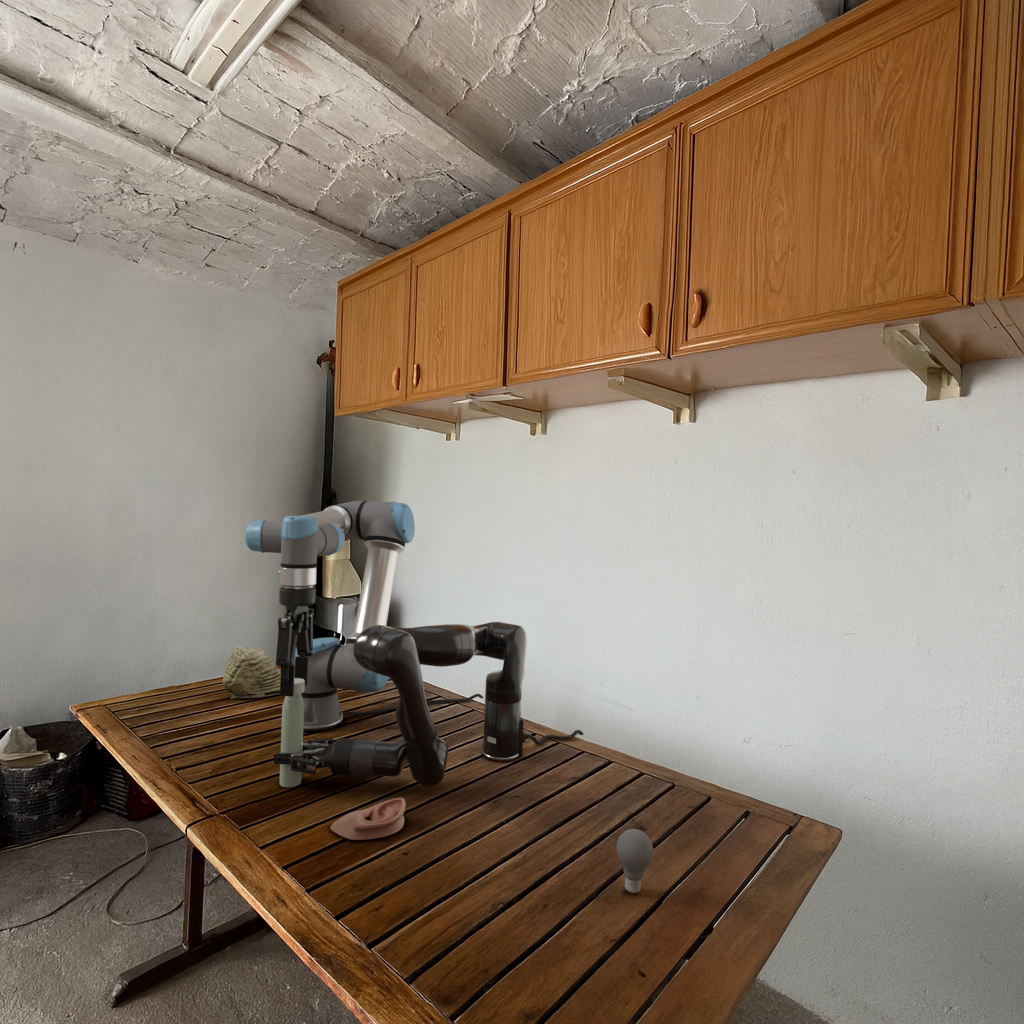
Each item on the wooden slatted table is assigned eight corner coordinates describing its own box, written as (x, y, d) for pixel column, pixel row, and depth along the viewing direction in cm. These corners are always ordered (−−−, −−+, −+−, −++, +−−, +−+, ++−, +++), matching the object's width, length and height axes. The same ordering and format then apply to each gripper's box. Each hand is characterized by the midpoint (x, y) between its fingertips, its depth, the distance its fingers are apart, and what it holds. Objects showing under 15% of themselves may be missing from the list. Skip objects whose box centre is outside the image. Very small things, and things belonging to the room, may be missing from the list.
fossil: (218, 695, 195) (220, 647, 195) (278, 685, 208) (279, 640, 207) (228, 703, 189) (230, 653, 188) (289, 692, 201) (290, 645, 201)
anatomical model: (323, 814, 118) (350, 787, 130) (322, 835, 118) (350, 806, 130) (389, 824, 116) (412, 796, 127) (389, 846, 116) (411, 816, 127)
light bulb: (610, 879, 108) (613, 822, 108) (644, 879, 109) (647, 822, 109) (619, 902, 102) (622, 840, 102) (655, 901, 103) (658, 840, 103)
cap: (282, 689, 140) (283, 678, 140) (303, 688, 142) (303, 677, 142) (284, 695, 136) (284, 684, 136) (305, 693, 138) (305, 682, 138)
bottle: (305, 780, 141) (309, 681, 141) (293, 788, 137) (296, 687, 136) (287, 776, 142) (291, 679, 142) (274, 785, 138) (278, 684, 138)
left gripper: (299, 579, 149) (295, 677, 149) (260, 591, 129) (256, 703, 130) (330, 581, 148) (326, 679, 149) (295, 593, 129) (291, 706, 129)
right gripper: (364, 728, 146) (291, 724, 147) (347, 753, 132) (266, 749, 132) (363, 760, 146) (290, 757, 147) (346, 788, 132) (265, 784, 132)
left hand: (293, 690), depth 139 cm, fingers open, 7 cm apart
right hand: (279, 753), depth 140 cm, fingers closed on bottle, 4 cm apart
